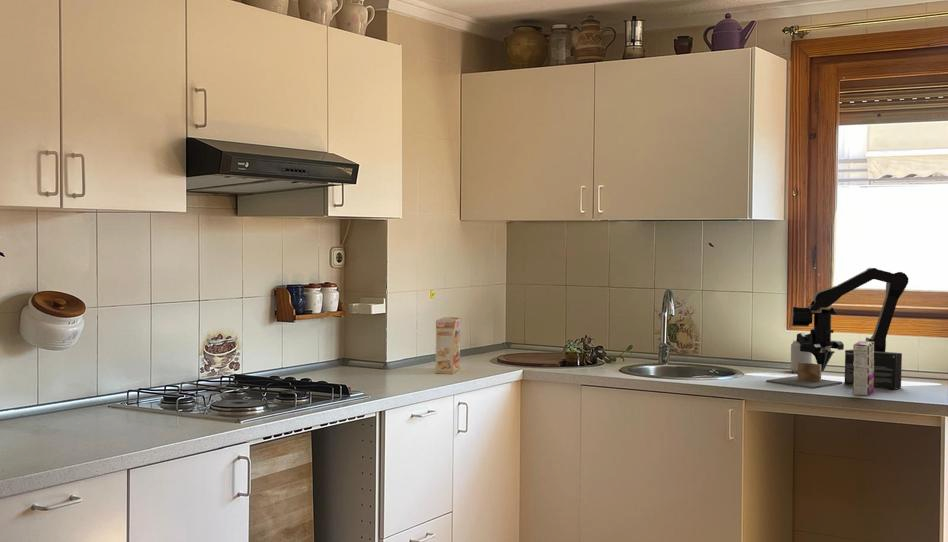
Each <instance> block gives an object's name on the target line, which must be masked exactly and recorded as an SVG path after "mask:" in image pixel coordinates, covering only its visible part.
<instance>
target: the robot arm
mask: <svg viewBox="0 0 948 542" xmlns="http://www.w3.org/2000/svg"><path fill="white" fill-rule="evenodd" d="M873 280H876V281H880V282H883V283H885V296H884V300H883V303H882V306H881V309H880V313H879V315H878V319H877V322H876V325H875V329H874V331H873V334H872V335H871V337H870V338H869V337H865V341H868V342H874V351H879V352H886V349H887V348H886V347H887V337H888V336H887V335H888V332H889V329H890V325H891V323H892V320H893V317H894V314H895V310H896V308H897V306H898V305H897V304H898V302H899V301H898V300H899V299H900V297H901V295H902V294H903V293H904V292H905V289H906V288H907V286H908V284H909V277H908V275H907V274H906V273H905V272H903V271H897V270H896V271H891V272H890V271H886V270H882V269H878V268H875V267H868V268H866V270H864V271H861V272H859V273H858V274H856V275H854V276H852V277H851V278H849V279H847V280H845V281H843V282H841V283H839V284H837V285H834V286H832V287H828V288H824V289H821V290H819V291H817V292H815V294H813V297H812V298H813V300H812V301H811V303H810V304H809V305H808V306H807V307H799V306H792V311H791V316H790V317H791V320H790V322H791V326H792V327H809V326H810V325H811V324H813V328H812V329H810V331H809V333H807V334H805V333H803V332H800V333H799V332H798V333H797V334H796V339H795V340H796V341H797V342H798V343H800V351H802V352H810V353H812V356H814V358H815V360H816V361H815V362H816V364H820V365H821V372H824V371H825V369H826V367H827V365H828V363H829V361H830V360H831V358H832V356H833V354H834V353H836V352H835V351H833V350H832V349H837V351H841V350H842V351H843V350H844V348H845V343H843V341H841V340H840V341H839V340H832V334H834V329H832V315H838V312H837V311H836V310H835V309H834V307H833V306H832V305H833V304H834V303H835V302H837V301H838V300H839V299H840V298H841V297H842V296H844V295H846V294H849V292H851V291H853V290H855V289H858V288H859V287H862V286H863V285H865V284H867V283H868V282H871V281H873ZM829 307H830V308H829ZM826 308H828V309H826ZM819 309H820V310H819ZM818 310H819V311H818Z"/></svg>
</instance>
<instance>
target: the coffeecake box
mask: <svg viewBox="0 0 948 542" xmlns="http://www.w3.org/2000/svg"><path fill="white" fill-rule="evenodd" d="M461 319H462V318H461V317H454V316H452V317H451V316H450V317H449V316H448V317H445V316H444V317H442V318H439V319H436V320H435V374H440V375H441V374H444V375H447V374H448V375H454V374H455V373H457V372H458V371H459V370H460V369H461V324H462V323H461V322H462V320H461Z"/></svg>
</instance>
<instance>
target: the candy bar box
mask: <svg viewBox="0 0 948 542" xmlns="http://www.w3.org/2000/svg"><path fill="white" fill-rule="evenodd" d="M852 350H854V352H853V385H852V390H853V391H852V395H853V394H854V395H853V396H861V395H867V396H866V397H870V395H871V394H873V392H875V387H874V342H868V341H866V340H861V341H860V340H859V341H857V342H855V343H854V344H853V348H852Z"/></svg>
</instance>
